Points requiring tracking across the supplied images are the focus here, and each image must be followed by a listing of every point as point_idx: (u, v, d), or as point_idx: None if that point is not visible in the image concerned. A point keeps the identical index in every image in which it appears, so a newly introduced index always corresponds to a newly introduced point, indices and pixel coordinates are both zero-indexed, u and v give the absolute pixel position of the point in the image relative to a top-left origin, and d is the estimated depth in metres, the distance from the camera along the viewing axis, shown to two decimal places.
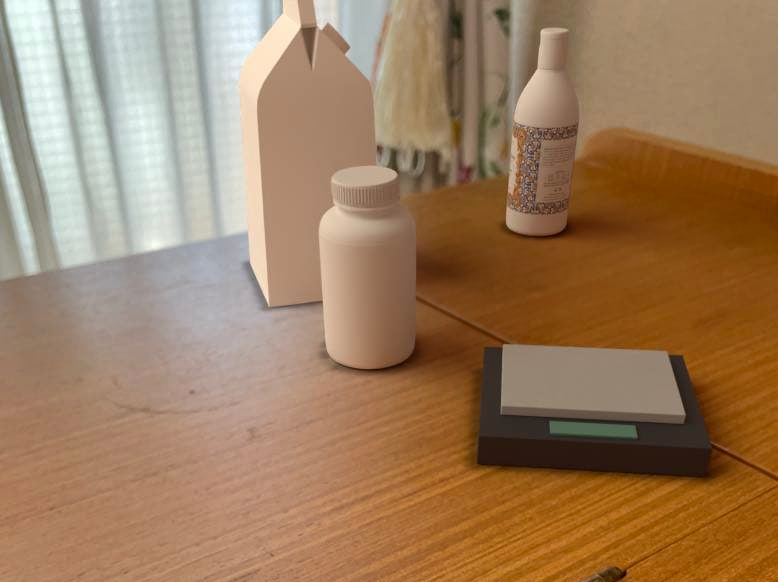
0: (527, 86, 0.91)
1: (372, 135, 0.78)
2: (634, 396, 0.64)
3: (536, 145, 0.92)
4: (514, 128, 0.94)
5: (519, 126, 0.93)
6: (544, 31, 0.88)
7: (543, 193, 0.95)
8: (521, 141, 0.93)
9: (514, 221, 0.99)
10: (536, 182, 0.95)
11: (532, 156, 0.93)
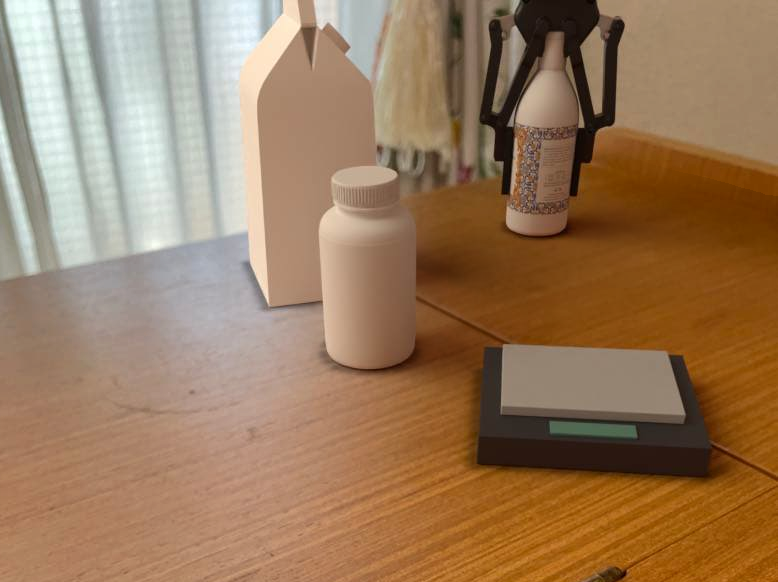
0: (527, 86, 0.91)
1: (373, 135, 0.78)
2: (634, 396, 0.64)
3: (536, 145, 0.92)
4: (514, 128, 0.94)
5: (519, 126, 0.93)
6: None
7: (543, 193, 0.95)
8: (521, 141, 0.93)
9: (514, 221, 0.99)
10: (536, 182, 0.95)
11: (532, 156, 0.93)
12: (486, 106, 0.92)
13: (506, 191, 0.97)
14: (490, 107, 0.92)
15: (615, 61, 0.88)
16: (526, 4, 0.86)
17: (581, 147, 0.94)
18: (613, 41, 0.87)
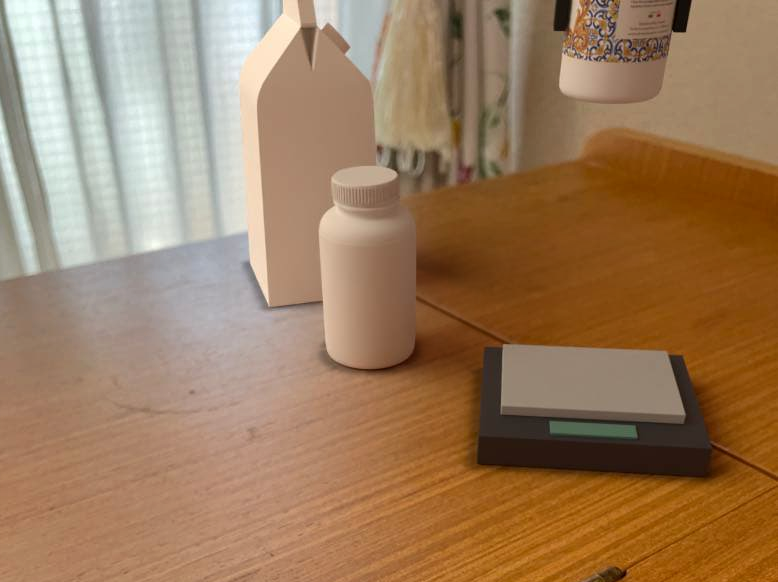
0: None
1: (372, 135, 0.78)
2: (634, 396, 0.64)
3: None
4: None
5: None
6: None
7: (630, 20, 0.55)
8: None
9: (574, 79, 0.58)
10: (617, 0, 0.54)
11: None
12: None
13: (563, 24, 0.57)
14: None
15: None
16: None
17: None
18: None
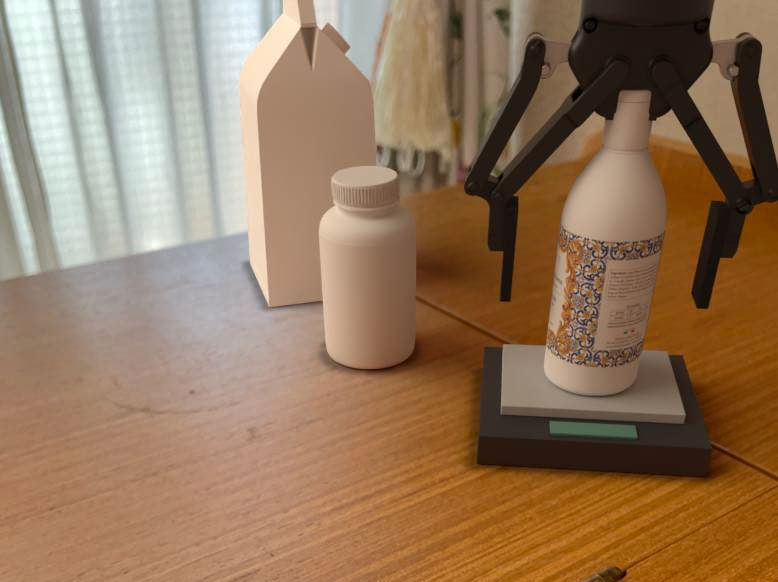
0: (584, 174, 0.57)
1: (372, 135, 0.78)
2: (634, 396, 0.64)
3: (598, 267, 0.58)
4: (562, 237, 0.59)
5: (571, 235, 0.58)
6: None
7: (607, 337, 0.60)
8: (574, 259, 0.58)
9: (557, 373, 0.64)
10: (595, 321, 0.60)
11: (590, 282, 0.58)
12: (481, 169, 0.57)
13: (508, 296, 0.62)
14: (487, 173, 0.57)
15: (760, 104, 0.52)
16: (590, 34, 0.51)
17: (722, 234, 0.57)
18: (748, 75, 0.51)
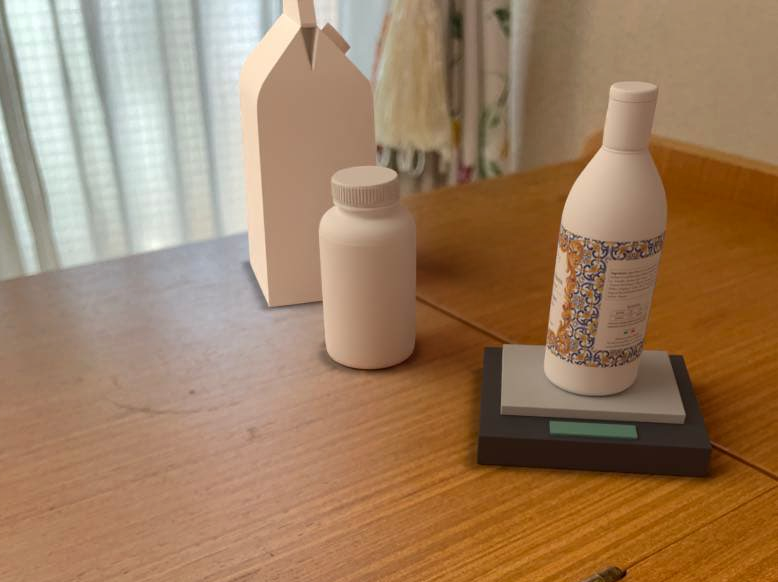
0: (585, 174, 0.57)
1: (372, 135, 0.78)
2: (634, 396, 0.64)
3: (598, 267, 0.58)
4: (562, 237, 0.59)
5: (571, 235, 0.58)
6: (617, 89, 0.53)
7: (607, 337, 0.60)
8: (574, 259, 0.58)
9: (557, 372, 0.64)
10: (595, 321, 0.60)
11: (591, 282, 0.58)
12: None
13: None
14: None
15: None
16: None
17: None
18: None
